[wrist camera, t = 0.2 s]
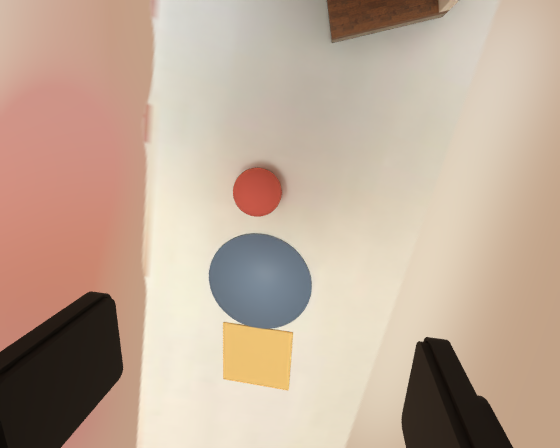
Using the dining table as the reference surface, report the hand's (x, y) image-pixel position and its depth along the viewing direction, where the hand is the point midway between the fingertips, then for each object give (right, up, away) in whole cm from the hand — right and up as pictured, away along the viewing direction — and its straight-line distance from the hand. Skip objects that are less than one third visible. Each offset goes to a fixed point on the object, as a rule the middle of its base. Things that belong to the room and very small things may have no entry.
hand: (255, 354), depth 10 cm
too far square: (-3, -15, +37) cm, 41 cm away
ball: (-2, +8, +27) cm, 28 cm away
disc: (-2, -4, +34) cm, 34 cm away
